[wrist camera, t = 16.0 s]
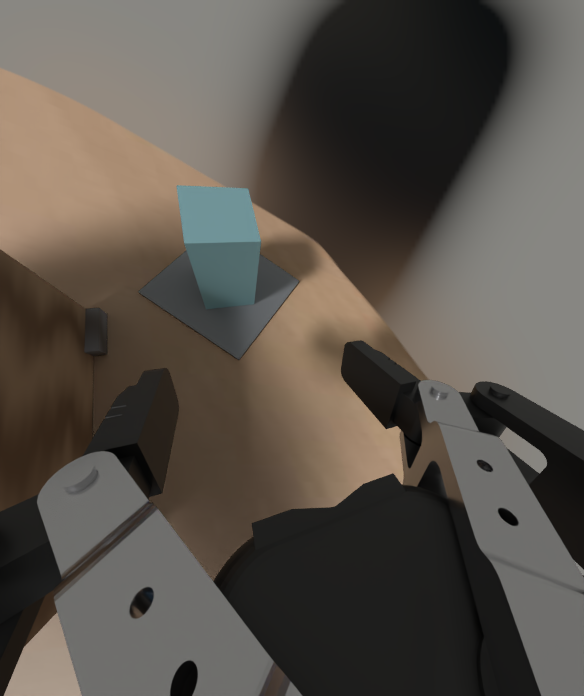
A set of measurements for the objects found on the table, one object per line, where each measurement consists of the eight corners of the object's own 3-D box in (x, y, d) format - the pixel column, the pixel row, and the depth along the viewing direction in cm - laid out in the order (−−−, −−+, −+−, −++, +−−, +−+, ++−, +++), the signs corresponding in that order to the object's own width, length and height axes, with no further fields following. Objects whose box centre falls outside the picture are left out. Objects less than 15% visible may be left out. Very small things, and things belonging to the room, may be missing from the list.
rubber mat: (238, 360, 21) (238, 359, 21) (138, 292, 21) (138, 291, 21) (299, 281, 26) (299, 280, 26) (216, 225, 26) (216, 224, 26)
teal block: (254, 304, 23) (260, 241, 15) (206, 309, 22) (184, 243, 14) (245, 265, 25) (247, 188, 16) (199, 268, 23) (176, 185, 15)
